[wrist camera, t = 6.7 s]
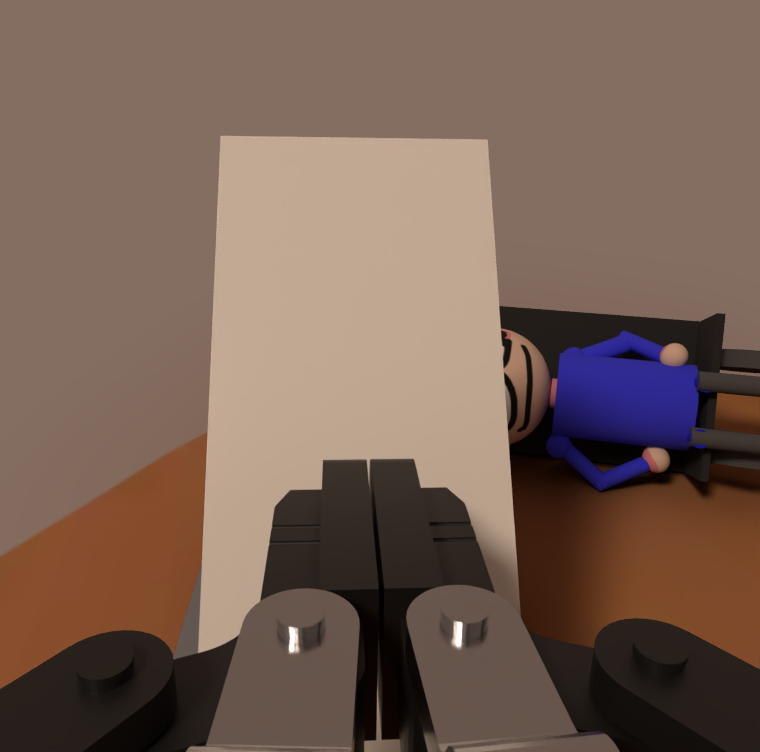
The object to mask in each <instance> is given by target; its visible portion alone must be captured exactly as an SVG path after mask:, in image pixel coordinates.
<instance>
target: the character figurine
mask: <svg viewBox="0 0 760 752" xmlns="http://www.w3.org/2000/svg"><path fill="white" fill-rule="evenodd" d="M499 311H500V326H501V340H502V354H503V369H504V383H505V397H506V412H507V426H508V440H509V451H517V452H525V453H533V454H541V455H549V456H552V457H554V458H557V459H561V458H564V459H565V460H566V461H567V462H568V463H569V464H570V465H571V466H572V467H573V468H575V469H576V470H577V471H578V472H579V473H580V474H581V475H582V476H583V477H584V478H585V479H586V480H587V481H589V482H590V483H591V484H592V485H593V486H594V487H595V488H596V489H597V490H598V491H599V492H600V491H602V490H605V489H607V488H610V487H612V486H615V485H617V484H620V483H622V482H624V481H627V480H629V479H632V478H634V477H637V476H639V475H642V474H644V473H646V472H649V471H651V472H654V473H661V472H664V471H665V470H670V471H678V472H684V473H686V474H688V475H690V476H692V477H694V478H695V479H697V480H699V481H704V482H708V479H709V469H710V463H716V464H722V465H728V466H735V467H742V468H750V469H758V470H760V434H751V433H742V432H733V431H724V430H714V420H715V411H716V401H717V393H726V394H736V395H746V396H756V397H760V377H757V376H756V377H755V376H746V375H735V374H724V373H719V372H720V370H727V371H738V372H750V373H760V351H753V350H738V349H737V350H736V349H722V342H723V333H724V323H725V314H718V313H717V314H715V315H713V316H711V317H709V318H707V319H705V320H703V321H701V322H699V321H684V320H672V319H659V318H647V317H633V316H621V315H608V314H594V313H581V312H569V311H568V312H567V311H555V310H542V309H529V308H516V307H503V306H499ZM590 461H597V462H605V463H613V464H622V465H620V466H617V467H615V468H612V469H610V470H608V471H605V472H603V473H602V472H601V471H600V470H599V469H598V468H597V467H596V466H595V465H594V464H593V463H592V462H590Z"/></svg>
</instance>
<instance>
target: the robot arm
mask: <svg viewBox="0 0 760 752" xmlns="http://www.w3.org/2000/svg"><path fill="white" fill-rule="evenodd" d="M377 687H378V701H379V714H380V727H381V740H393V739H400V749H401V752H760V669H758V668H756V667H754V666H752V665H750V664H748V663H746V662H745V661H743V660H741V659H739V658H737V657H735V656H733V655H731V654H729V653H728V652H726V651H724V650H722V649H720V648H718V647H716V646H714V645H712V644H710V643H709V642H707V641H705V640H703V639H701V638H699V637H697V636H695V635H693V634H691V633H690V632H688V631H685V630H683V629H681V628H679V627H677V626H674V625H671V624H668V623H664V622H661V621H656V620H650V619H638V618H635V619H624V620H619V621H616V622H613V623H611V624H609V625H607V626H606V627H604V628H603V629H602V630H601V631H600V632H599V633H598V635H597V637H596V640H595V644H594V648H590V647H585V646H580V645H575V644H570V643H565V642H560V641H556V640H552V639H548V638H545V637H543V636H540V635H537V634H535V633H533V632H531V631H529V630H527V629H526V627H525V625H524V623H523V621H522V619H521V617H520V615H519V613H518V612H517V610H516V609H515V608H514V607H513V606H512V604H511V603H509V602H508V601H507V600H505V599H504V598H503V597H501V596H499V595H497V594H496V593H495V590H494V588H493V585H492V582H491V579H490V576H489V573H488V570H487V567H486V564H485V561H484V558H483V555H482V552H481V549H480V546H479V544H478V541H476V535H475V532H474V529H473V526H472V525H471V520H470V517H469V514H468V511H467V508H466V505H465V503H464V502H463V501H462V500H461V499H459V498H458V497H457V496H456V495H455V494H454V493H452V492H451V491H450V490H449V489H448V488H447V487H438V488H421V486H420V482H419V477H418V473H417V469H416V465H415V461H414V459H370V466H369V479H368V468H367V460H366V459H352V460H323V471H322V489H316V490H290V491H289V492H288V493H287V494H286V495H285V496H284V497H283V498H282V499H281V500H280V501H279V502H278V504H277V505H276V506H275V508H274V515H273V521H272V529H271V534H270V540H269V547H268V553H267V560H266V566H265V572H264V579H263V585H262V592H261V598H260V602H258V603H257V604H256V605H255V606H254V607H253V608H251V609H250V611H249V612H248V613H247V615H246V616H245V618H244V621H243V623H242V627H241V630H240V633H239V635H238V636H237V637H235V638H234V639H232V640H230V641H228V642H227V643H225V644H223V645H220V646H218V647H216V648H213V649H210V650H207V651H204V652H200V653H196V654H192V655H188V656H185V657H181V658H177V659H173V655H172V652H171V650H170V648H169V647H168V646H167V644H166V643H165V642H164V641H162V640H161V639H160V638H158V637H156V636H154V635H152V634H148V633H145V632H140V631H127V630H122V631H112V632H107V633H102V634H98V635H95V636H92V637H89V638H86V639H84V640H82V641H79V642H77V643H75V644H74V645H72V646H70V647H68V648H66V649H65V650H63V651H62V652H60V653H58V654H57V655H55V656H53V657H52V658H50V659H49V660H47V661H45V662H44V663H42V664H41V665H39V666H37V667H36V668H34V669H32V670H31V671H29V672H28V673H26V674H24V675H23V676H21V677H19V678H18V679H16V680H15V681H13V682H11V683H10V684H8V685H6V686H5V687H3V688H2V689H0V752H364V741H374V740H376V732H377Z"/></svg>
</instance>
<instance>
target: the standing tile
mask: <svg viewBox="0 0 760 752" xmlns="http://www.w3.org/2000/svg"><path fill="white" fill-rule="evenodd" d="M214 279H215V280H214V302H213V324H212V347H211V370H210V371H211V372H210V392H209V416H208V438H207V460H206V483H205V506H204V529H203V551H202V574H201V597H200V620H199V642H198V653H200V652H204V651H207V650H210V649H213V648H216V647H218V646H220V645H223V644H225V643H227V642H228V641H230V640H232V639H234V638H235V637H237V636H238V635H239V633H240V630H241V627H242V623H243V621H244V618H245V616H246V615H247V613H248V612H249V611H250V609H251V608H253V607H254V606H255V605H256V604H257V603H258V602H260V598H261V592H262V585H263V579H264V572H265V566H266V560H267V553H268V547H269V540H270V534H271V529H272V521H273V515H274V508H275V506H276V505H277V504H278V502H279V501H280V500H281V499H282V498H283V497H284V496H285V495H286V494H287V493H288V492H289V491H290V490H316V489H322V471H323V460H352V459H366V460H367V468H368V479H369V466H370V459H414V461H415V465H416V469H417V473H418V477H419V482H420V486H421V488H438V487H447V488H448V489H449V490H450V491H451V492H452V493H454V494H455V495H456V496H457V497H458V498H459V499H461V500H462V501H463V502H464V503H465V505H466V508H467V511H468V514H469V517H470V520H471V525H472V526H473V529H474V532H475V535H476V541H478V544H479V546H480V549H481V552H482V555H483V558H484V561H485V564H486V567H487V570H488V573H489V576H490V579H491V582H492V585H493V588H494V590H495V593H496V594H497V595H499V596H501V597H503V598H504V599H505V600H507V601H508V602H509V603H511V604H512V606H513V607H514V608H515V609H516V610H517V612H518V613H519V615H520V617H521V612H520V598H519V584H518V569H517V555H516V541H515V526H514V512H513V498H512V483H511V469H510V455H509V440H508V426H507V412H506V397H505V383H504V369H503V354H502V340H501V326H500V311H499V298H498V284H497V269H496V254H495V240H494V226H493V211H492V198H491V182H490V168H489V154H488V140H473V139H470V140H469V139H405V138H402V139H401V138H334V137H331V138H330V137H263V136H262V137H260V136H221V142H220V165H219V188H218V210H217V234H216V256H215V278H214ZM364 752H401V749H400V739H393V740H381V727H380V714H379V701H378V687H377V732H376V740H374V741H364Z"/></svg>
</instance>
